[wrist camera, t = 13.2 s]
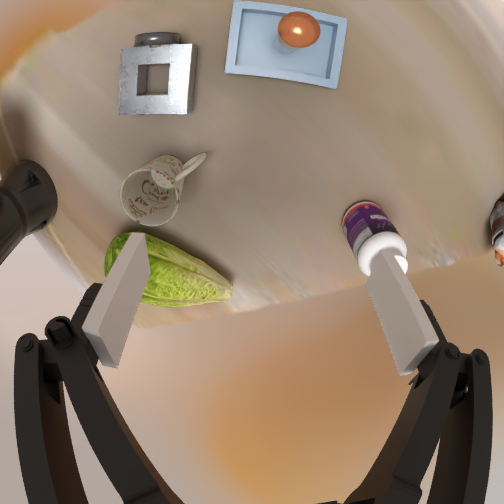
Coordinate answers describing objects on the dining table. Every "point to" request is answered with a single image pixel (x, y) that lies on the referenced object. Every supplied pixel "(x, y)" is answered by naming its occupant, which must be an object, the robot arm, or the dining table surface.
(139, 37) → the block
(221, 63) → the dining table surface
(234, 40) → the tray
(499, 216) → the lucky cat figurine
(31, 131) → the dining table surface
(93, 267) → the dining table surface
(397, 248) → the pill bottle
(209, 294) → the lettuce
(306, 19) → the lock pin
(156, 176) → the mug
